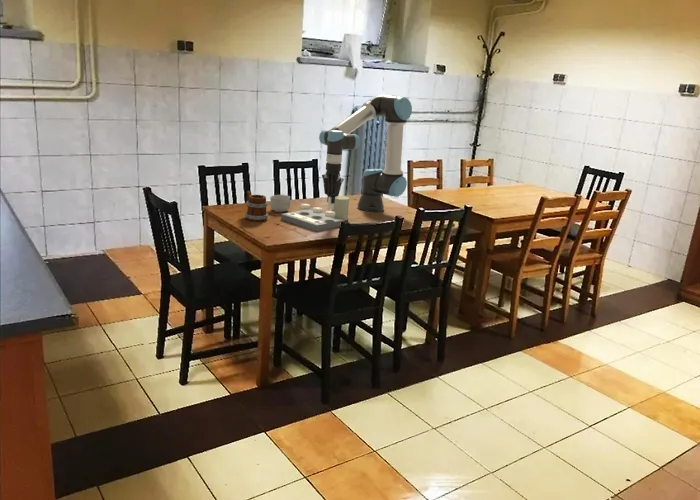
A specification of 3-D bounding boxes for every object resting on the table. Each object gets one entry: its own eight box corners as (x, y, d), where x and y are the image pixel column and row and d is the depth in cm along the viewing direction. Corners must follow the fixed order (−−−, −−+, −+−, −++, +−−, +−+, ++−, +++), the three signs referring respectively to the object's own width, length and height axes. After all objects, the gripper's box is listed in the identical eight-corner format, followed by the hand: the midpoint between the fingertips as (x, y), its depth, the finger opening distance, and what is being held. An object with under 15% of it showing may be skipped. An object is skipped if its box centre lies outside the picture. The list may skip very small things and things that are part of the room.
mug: (253, 223, 294) (251, 192, 291) (238, 221, 304) (236, 191, 302) (273, 220, 301) (271, 190, 299) (258, 218, 312) (256, 190, 309)
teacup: (286, 214, 316) (286, 199, 314) (266, 211, 318) (267, 197, 316) (293, 208, 329) (294, 194, 327) (275, 206, 331) (275, 192, 329)
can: (328, 216, 318) (329, 194, 315) (344, 216, 322) (345, 194, 318) (334, 221, 310) (336, 198, 307) (350, 220, 314) (352, 198, 310)
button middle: (317, 210, 308) (317, 206, 308) (324, 212, 305) (324, 208, 305) (310, 211, 305) (310, 208, 304) (317, 213, 302) (317, 210, 301)
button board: (308, 214, 320) (309, 208, 319) (344, 225, 303) (344, 219, 302) (281, 219, 305) (281, 213, 304) (316, 231, 289) (317, 224, 288)
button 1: (305, 207, 314) (305, 203, 313) (312, 209, 311) (312, 205, 310) (298, 208, 310) (298, 204, 310) (305, 210, 307) (305, 206, 307)
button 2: (329, 214, 303) (330, 210, 302) (337, 216, 300) (337, 212, 299) (323, 215, 299) (323, 211, 299) (330, 217, 296) (330, 213, 295)
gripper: (319, 160, 293) (316, 207, 300) (338, 165, 285) (334, 213, 292) (329, 160, 298) (326, 205, 305) (348, 164, 290) (345, 211, 297)
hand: (330, 209), depth 298 cm, fingers closed
